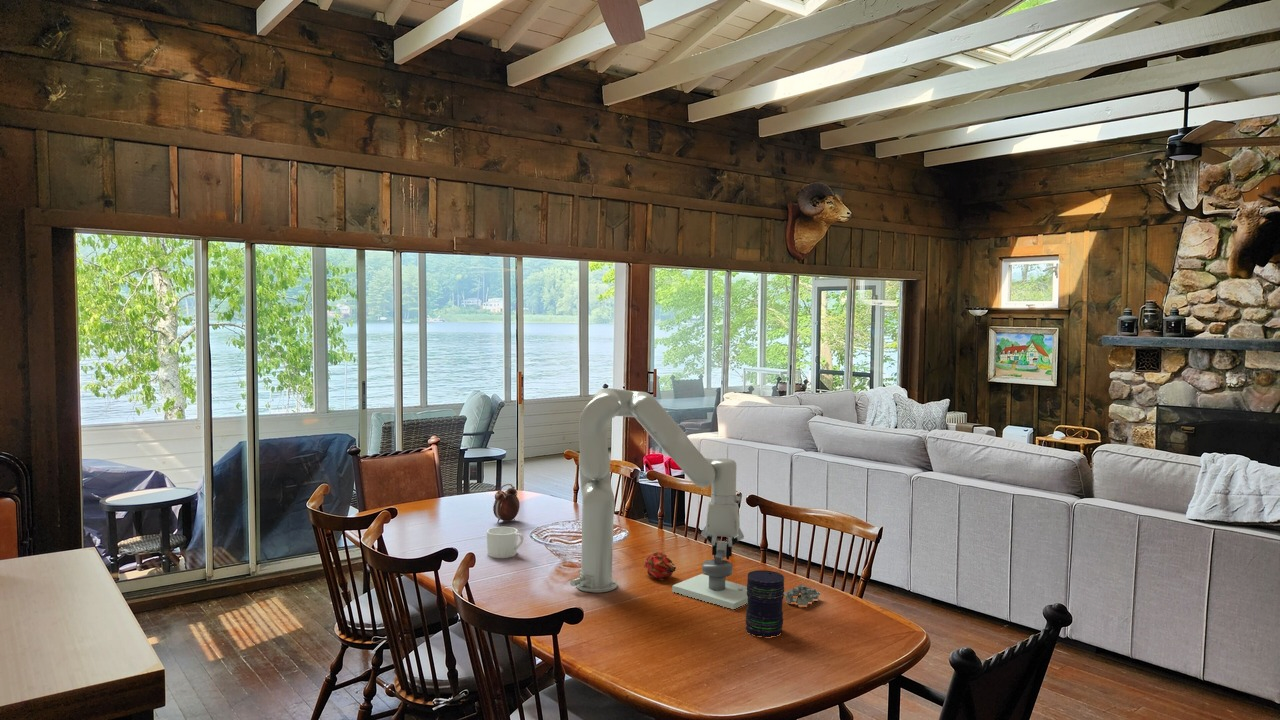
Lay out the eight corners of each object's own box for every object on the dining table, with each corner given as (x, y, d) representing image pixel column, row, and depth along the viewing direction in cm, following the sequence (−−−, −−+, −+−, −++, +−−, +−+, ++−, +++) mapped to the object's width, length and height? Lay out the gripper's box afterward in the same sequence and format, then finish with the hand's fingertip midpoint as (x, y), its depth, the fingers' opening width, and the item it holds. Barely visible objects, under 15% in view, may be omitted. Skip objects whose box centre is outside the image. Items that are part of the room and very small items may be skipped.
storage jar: (773, 641, 208) (775, 584, 208) (739, 632, 214) (740, 577, 213) (788, 629, 217) (790, 574, 216) (754, 621, 222) (756, 567, 221)
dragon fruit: (648, 575, 263) (671, 591, 253) (633, 565, 258) (655, 581, 248) (663, 553, 264) (686, 568, 255) (648, 542, 259) (671, 557, 250)
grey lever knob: (730, 578, 237) (731, 556, 236) (700, 575, 239) (700, 553, 238) (736, 563, 251) (737, 542, 251) (708, 560, 253) (708, 540, 253)
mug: (480, 556, 274) (480, 532, 274) (497, 547, 284) (497, 525, 283) (514, 561, 269) (515, 537, 269) (530, 553, 279) (531, 529, 278)
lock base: (733, 610, 230) (734, 588, 229) (672, 591, 244) (672, 570, 243) (761, 597, 241) (762, 575, 241) (701, 580, 255) (701, 559, 255)
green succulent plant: (803, 610, 232) (803, 596, 231) (781, 603, 237) (781, 590, 237) (822, 601, 239) (823, 587, 239) (800, 594, 245) (801, 581, 244)
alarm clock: (511, 518, 324) (512, 481, 323) (520, 520, 321) (520, 483, 321) (491, 523, 315) (492, 485, 315) (500, 525, 313) (501, 487, 312)
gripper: (750, 498, 251) (749, 556, 253) (698, 494, 255) (696, 552, 256) (749, 503, 244) (747, 563, 245) (695, 500, 247) (693, 559, 248)
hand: (721, 557), depth 251 cm, fingers closed on grey lever knob, 3 cm apart
